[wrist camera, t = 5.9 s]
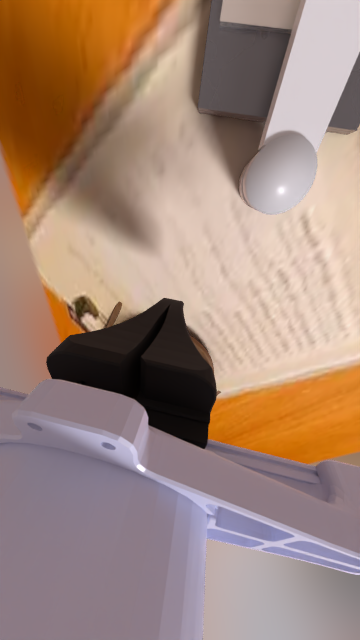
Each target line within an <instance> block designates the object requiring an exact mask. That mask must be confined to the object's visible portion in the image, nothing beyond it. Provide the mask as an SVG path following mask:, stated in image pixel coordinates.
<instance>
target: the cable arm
mask: <svg viewBox="0 0 360 640" xmlns="http://www.w3.org/2000/svg"><path fill="white" fill-rule="evenodd" d="M359 52H360V0H301V1H300V4H299V8H298V11H297V15H296V18H295V22H294V25H293V29H292V32H291V36H290V39H289V43H288V46H287V50H286V53H285V57H284V60H283V64H282V67H281V71H280V74H279V78H278V81H277V85H276V88H275V92H274V95H273V99H272V102H271V106H270V109H269V113H268V116H267V120H266V123H265V127H264V130H263V134H262V137H261V141H260V144H259V148H258V151H260V152H259V153H257V154H256V155H255V157H254V158H253V159H252V160H251V162H250V163H249V165H248V167H247V169H246V171H245V175H244V179H243V194H244V197H245V199H246V201H247V203H248V204H249V205H250V206H251V207H252V208H254V209H256V210H258V211H259V212H262V213H264V214H270V215H274V214H280V213H283V212H286V211H288V210H290V209H291V208H293V207H294V206H296V205H297V204H298V203H299V202H300V201H301V200H302V199H303V198H304V197H305V195H306V194H307V193H308V191H309V189H310V188H311V186H312V184H313V181H314V179H315V175H316V170H317V156H316V153H317V151H318V148H319V146H320V144H321V141H322V139H323V137H324V134H325V132H326V130H327V127H328V125H329V122H330V120H331V118H332V115H333V113H334V111H335V108H336V106H337V104H338V101H339V99H340V97H341V94H342V92H343V90H344V87H345V85H346V83H347V80H348V78H349V76H350V73H351V71H352V69H353V66H354V64H355V61H356V59H357V57H358V54H359Z"/></svg>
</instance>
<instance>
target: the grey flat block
mask: <svg viewBox="0 0 360 640" xmlns="http://www.w3.org/2000/svg"><path fill="white" fill-rule="evenodd" d="M300 1H301V0H212V2H211V10H210V17H209V25H208V33H207V40H206V48H205V56H204V63H203V71H202V79H201V86H200V94H199V102H198V111H199V113H203V114H210V115H217V116H224V117H231V118H237V119H244V120H251V121H258V122H265V123H266V120H267V116H268V113H269V109H270V106H271V102H272V99H273V95H274V92H275V88H276V85H277V81H278V78H279V74H280V71H281V67H282V64H283V60H284V57H285V53H286V50H287V46H288V43H289V39H290V36H291V32H292V29H293V25H294V22H295V18H296V15H297V11H298V8H299V4H300ZM359 124H360V52H359V54H358V57H357V59H356V61H355V64H354V66H353V69H352V71H351V73H350V76H349V78H348V80H347V83H346V85H345V87H344V90H343V92H342V94H341V97H340V99H339V101H338V104H337V106H336V108H335V111H334V113H333V115H332V118H331V120H330V122H329V125H328V127H327V130H326V132H333V133H340V134H346V135H348V134H350V133H352V132H354V131H356V130H357V128H358V126H359ZM254 157H255V156H254ZM254 157H253V158H254ZM253 158H252V159H253ZM252 159H251V160H252ZM251 160H250V161H249V162H248V163H247V165H246V166H245V168H244V169H243V171H242V174H241V177H240V181H239V193H240V196H241V198H242V200H243V201H244V203H245V204H246V205H248V206H250V205H249V204H248V203H247V201H246V199H245V197H244V194H243V179H244V175H245V171H246V169H247V167H248V165H249V163H250V162H251ZM250 207H251V206H250Z"/></svg>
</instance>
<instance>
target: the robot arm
mask: <svg viewBox="0 0 360 640" xmlns="http://www.w3.org/2000/svg"><path fill="white" fill-rule="evenodd" d="M183 305H184V303H183V302H182V301H177V300H172V299H168V298H163V299H162V300H160V301H159V302H158V303H156V304H155V305H153V306H152V307H150V308H149V309H147V310H146V311H144V312H143V313H141V314H139V315H138V316H136V317H134V318H132V319H129V320H127V321H125V322H122V323H120V324H117V325H114V326H111V327H108V328H104V329H101V330H96V331H92V332H87V333H81V334H75V335H70V336H69V337H67V338H66V339H65V340H64V341H63V342H62V343H61V344H60V345H59V346H58V347H57V348H56V349H55V350H54V351H53V352H52V353H51V354H50V355H49V356H48V357H47V362H46V363H47V367H48V370H49V373H50V375H51V377H52V379H46V380H44V381H43V382H41V383H39V384H38V386H37V387H36V388H35V389H34V390H33V391H32V392H31V393H30V394H25V393H21V392H17V391H14V390H9V389H6V388H1V387H0V640H203V618H204V594H205V568H206V567H205V566H206V541H207V539H210V540H214V541H219V542H224V543H227V544H232V545H236V546H241V547H245V548H249V549H254V550H258V551H263V552H267V553H272V554H276V555H280V556H285V557H289V558H293V559H298V560H302V561H306V562H310V563H313V564H317V565H321V566H325V567H329V568H333V569H336V570H340V571H343V572H347V573H351V574H354V575H360V467H359V466H355V465H351V464H347V463H343V462H339V461H335V460H324V461H321V462H320V463H319V464H318V465H317V466H312V465H308V464H304V463H300V462H296V461H292V460H288V459H284V458H280V457H276V456H272V455H268V454H264V453H260V452H256V451H252V450H248V449H244V448H240V447H236V446H232V445H228V444H224V443H220V442H216V441H212V440H208V424H209V423H210V412H211V410H212V407H213V405H214V403H215V401H216V396H217V390H216V382H215V377H214V373H213V369H212V367H211V366H210V365H209V364H208V363H207V362H206V360H205V359H204V358H203V357H202V355H201V354H200V353H199V351H198V349H197V348H196V346H195V345H194V343H193V341H192V339H191V337H190V335H189V332H188V329H187V326H186V323H185V319H184V314H183Z"/></svg>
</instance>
